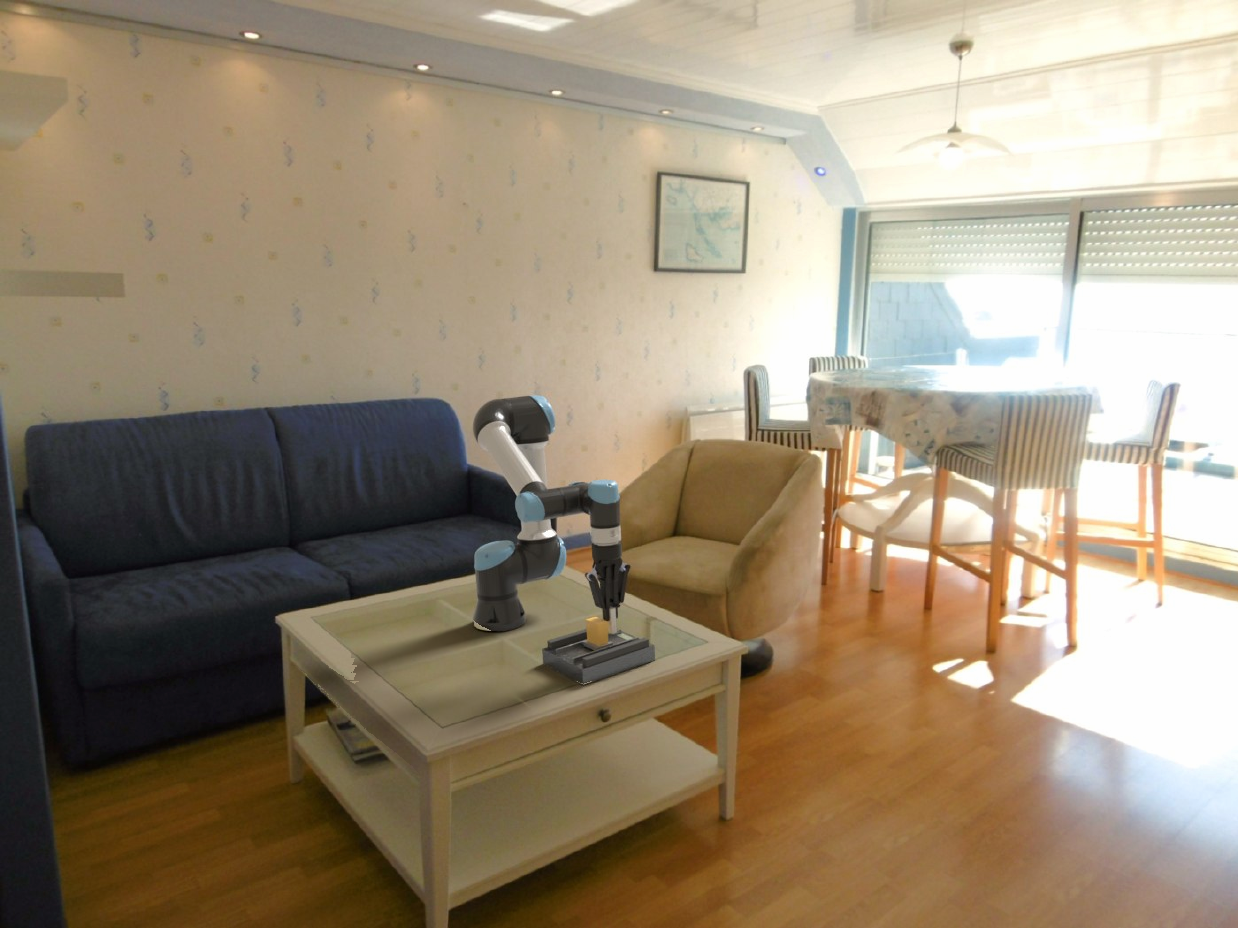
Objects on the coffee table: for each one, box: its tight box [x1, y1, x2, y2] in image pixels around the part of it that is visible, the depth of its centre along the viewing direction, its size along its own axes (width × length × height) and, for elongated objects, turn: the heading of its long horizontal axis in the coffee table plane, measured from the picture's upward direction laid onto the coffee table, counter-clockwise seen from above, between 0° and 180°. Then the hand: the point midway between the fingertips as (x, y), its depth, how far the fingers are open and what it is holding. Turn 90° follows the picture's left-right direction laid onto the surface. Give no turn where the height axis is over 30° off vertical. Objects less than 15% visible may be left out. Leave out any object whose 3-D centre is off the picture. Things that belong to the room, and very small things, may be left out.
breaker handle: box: [583, 616, 613, 651], centre depth 221 cm, size 6×5×7 cm
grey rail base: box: [541, 628, 656, 684], centre depth 221 cm, size 18×22×5 cm
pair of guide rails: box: [546, 628, 650, 667], centre depth 221 cm, size 17×19×2 cm
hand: (611, 631), depth 223 cm, fingers closed
